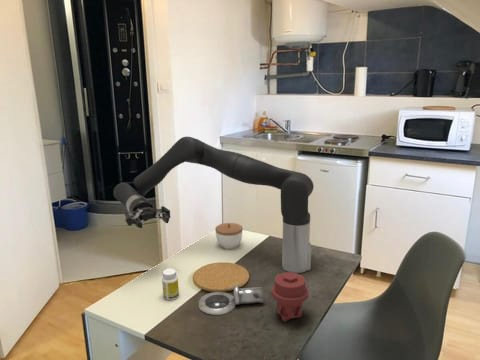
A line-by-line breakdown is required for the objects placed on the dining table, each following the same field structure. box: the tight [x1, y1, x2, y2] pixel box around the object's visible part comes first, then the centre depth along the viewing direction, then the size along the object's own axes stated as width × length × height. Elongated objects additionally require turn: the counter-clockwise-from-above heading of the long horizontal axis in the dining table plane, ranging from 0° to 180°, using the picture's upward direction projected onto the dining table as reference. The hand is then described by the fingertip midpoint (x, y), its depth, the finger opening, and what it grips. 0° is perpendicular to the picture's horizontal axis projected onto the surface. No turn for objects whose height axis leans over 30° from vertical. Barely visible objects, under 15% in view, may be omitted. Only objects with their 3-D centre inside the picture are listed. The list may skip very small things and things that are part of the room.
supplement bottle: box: [161, 268, 180, 301], centre depth 118 cm, size 5×5×8 cm
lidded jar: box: [214, 222, 243, 250], centre depth 153 cm, size 11×11×9 cm
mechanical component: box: [271, 271, 309, 322], centre depth 107 cm, size 12×10×10 cm
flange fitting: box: [198, 284, 264, 316], centre depth 114 cm, size 19×11×6 cm, turn 95°
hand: (154, 222), depth 123 cm, fingers open, 8 cm apart
